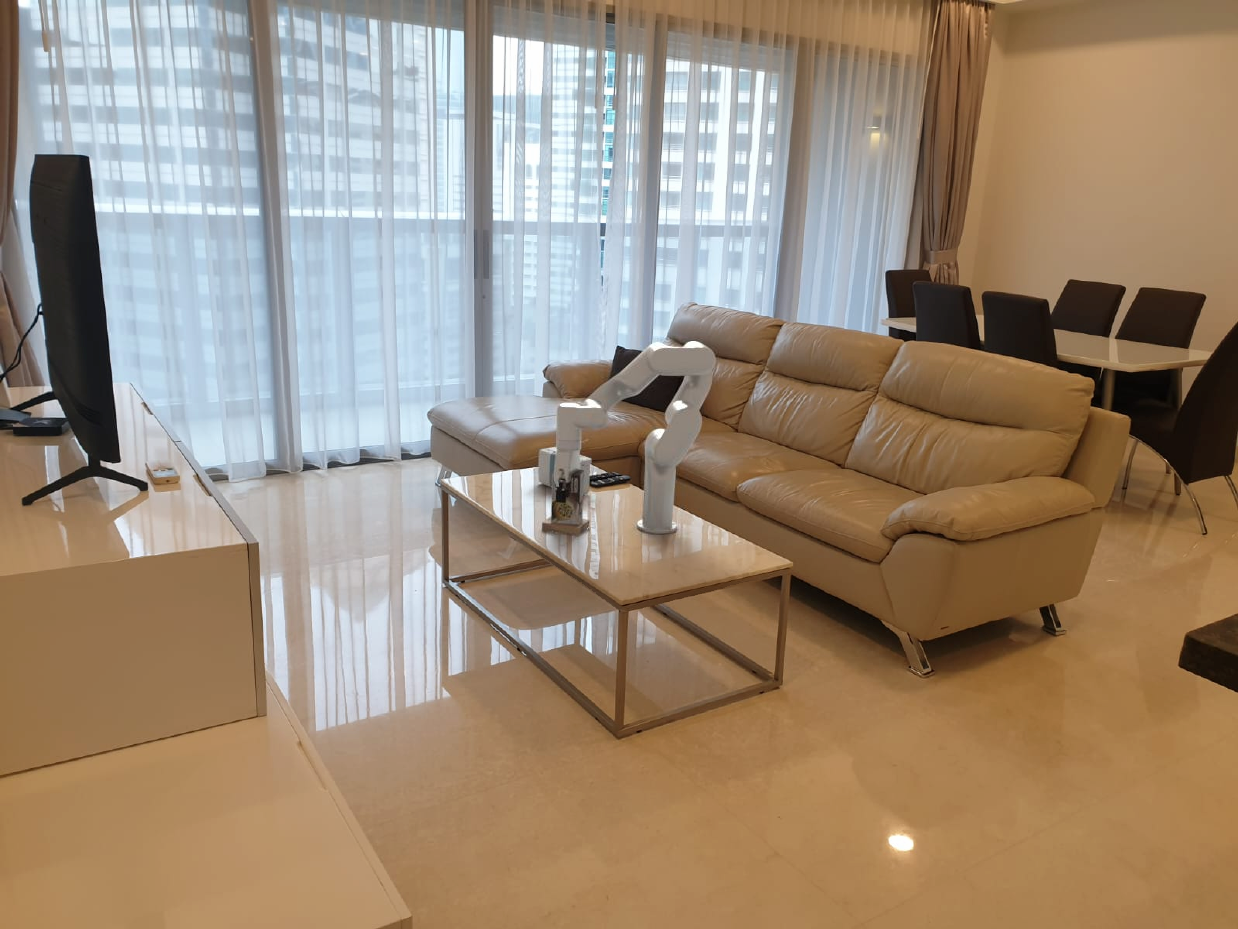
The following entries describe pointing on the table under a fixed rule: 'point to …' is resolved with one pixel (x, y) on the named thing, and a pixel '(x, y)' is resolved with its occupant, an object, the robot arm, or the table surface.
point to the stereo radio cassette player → (548, 464)
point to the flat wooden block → (565, 527)
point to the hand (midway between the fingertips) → (567, 498)
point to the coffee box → (569, 501)
